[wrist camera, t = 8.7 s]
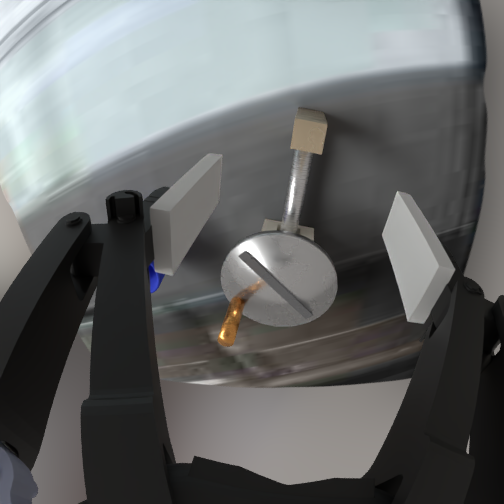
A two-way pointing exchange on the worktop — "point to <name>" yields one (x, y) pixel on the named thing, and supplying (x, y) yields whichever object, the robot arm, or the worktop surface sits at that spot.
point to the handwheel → (276, 281)
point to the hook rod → (302, 162)
